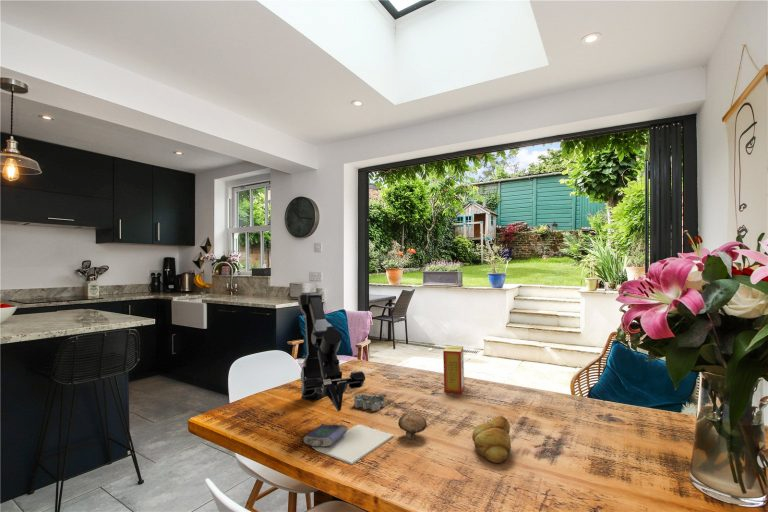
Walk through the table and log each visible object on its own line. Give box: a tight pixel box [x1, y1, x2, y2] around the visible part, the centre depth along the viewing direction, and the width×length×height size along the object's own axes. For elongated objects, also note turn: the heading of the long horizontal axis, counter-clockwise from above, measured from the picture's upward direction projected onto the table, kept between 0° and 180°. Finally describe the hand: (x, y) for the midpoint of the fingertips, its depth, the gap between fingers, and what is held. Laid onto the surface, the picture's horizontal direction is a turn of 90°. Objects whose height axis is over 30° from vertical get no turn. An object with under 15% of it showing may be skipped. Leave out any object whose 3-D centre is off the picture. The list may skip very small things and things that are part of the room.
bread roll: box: [471, 415, 512, 464], centre depth 97 cm, size 13×10×8 cm
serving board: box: [314, 424, 395, 465], centre depth 103 cm, size 13×18×1 cm
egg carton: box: [352, 393, 387, 412], centre depth 131 cm, size 11×8×4 cm
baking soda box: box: [442, 345, 465, 394], centre depth 147 cm, size 10×6×16 cm
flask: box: [303, 423, 348, 450], centre depth 104 cm, size 9×3×11 cm
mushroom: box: [397, 412, 428, 440], centre depth 107 cm, size 8×8×6 cm
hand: (339, 410), depth 107 cm, fingers closed
